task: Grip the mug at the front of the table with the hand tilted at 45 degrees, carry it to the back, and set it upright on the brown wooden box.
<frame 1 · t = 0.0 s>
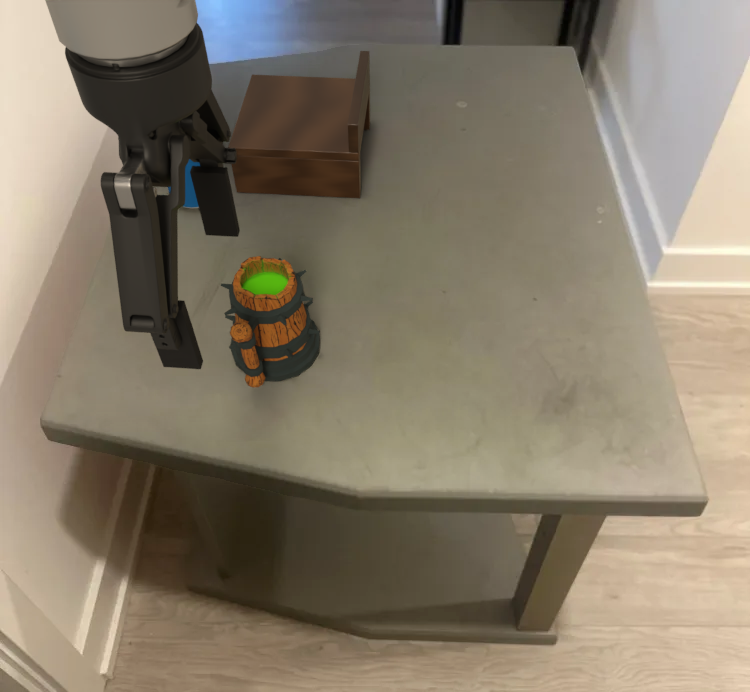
hand: (204, 294, 57), 20 cm above the table, tool pointing down, fingers open, 13 cm apart
brown wooden box: (306, 156, 100), on the table
mug: (272, 357, 79), on the table
beverage can: (197, 196, 95), on the table
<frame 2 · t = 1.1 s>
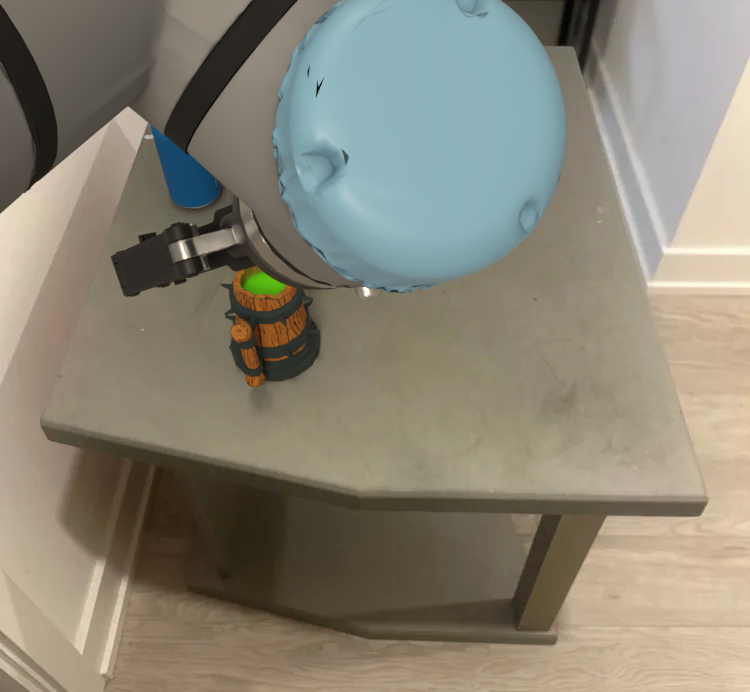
hand: (268, 238, 53), 26 cm above the table, tool tilted 45°, fingers open, 13 cm apart
nothing on the table moved.
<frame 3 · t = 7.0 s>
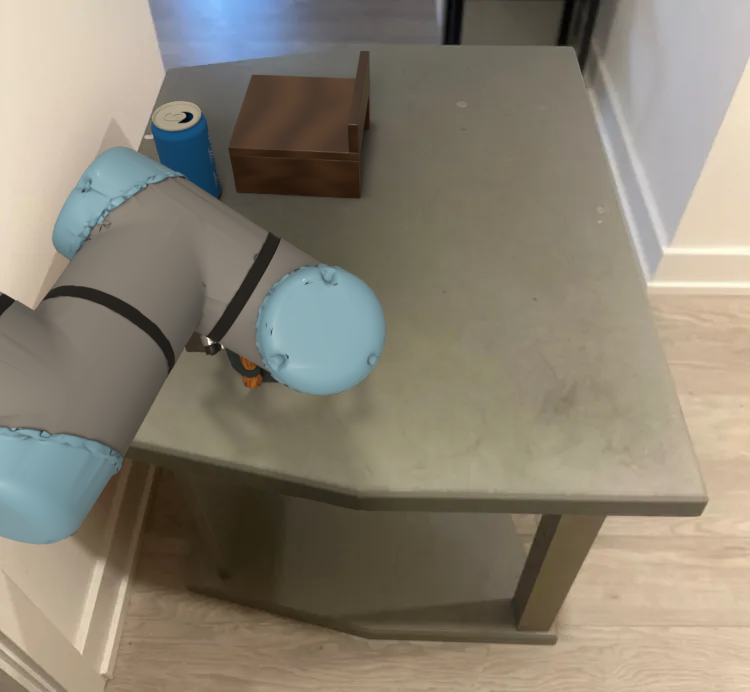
hand: (262, 310, 78), 4 cm above the table, tool tilted 45°, fingers closed on mug, 10 cm apart
mug: (268, 358, 79), on the table, touching gripper
everything else where it was.
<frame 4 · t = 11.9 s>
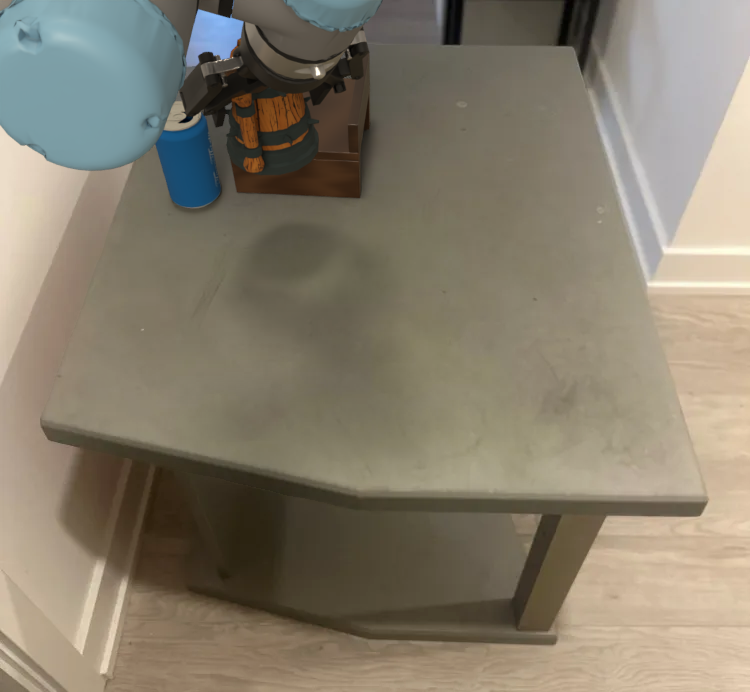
hand: (264, 102, 75), 19 cm above the table, tool tilted 45°, fingers closed on mug, 10 cm apart
mug: (270, 156, 77), point 15 cm above the table, touching gripper
everything else where it was.
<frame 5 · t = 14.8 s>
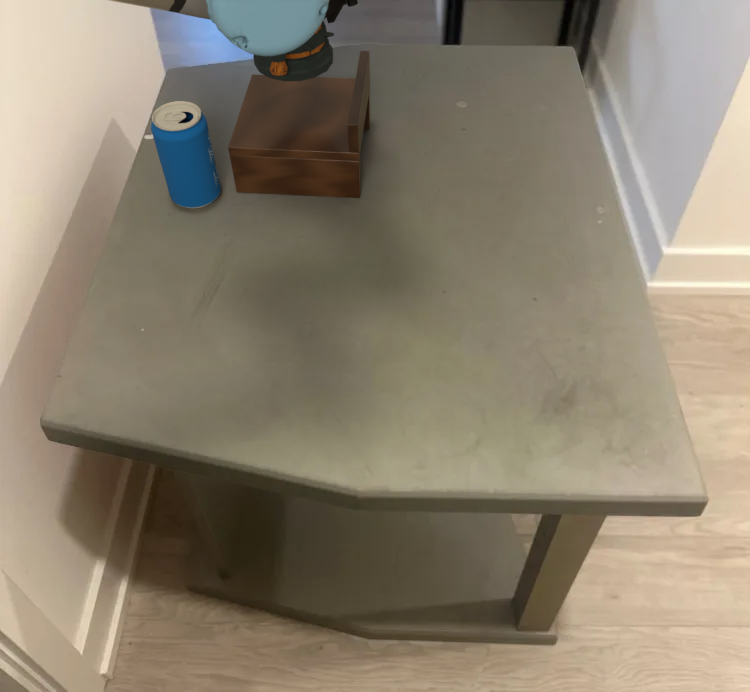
hand: (286, 19, 87), 18 cm above the table, tool tilted 45°, fingers closed on mug, 10 cm apart
mug: (291, 67, 89), point 14 cm above the table, touching gripper
everything else where it was.
when the fingers open (11 cm above the table, at t = 17.2 s): mug stays where it is, resting on brown wooden box.
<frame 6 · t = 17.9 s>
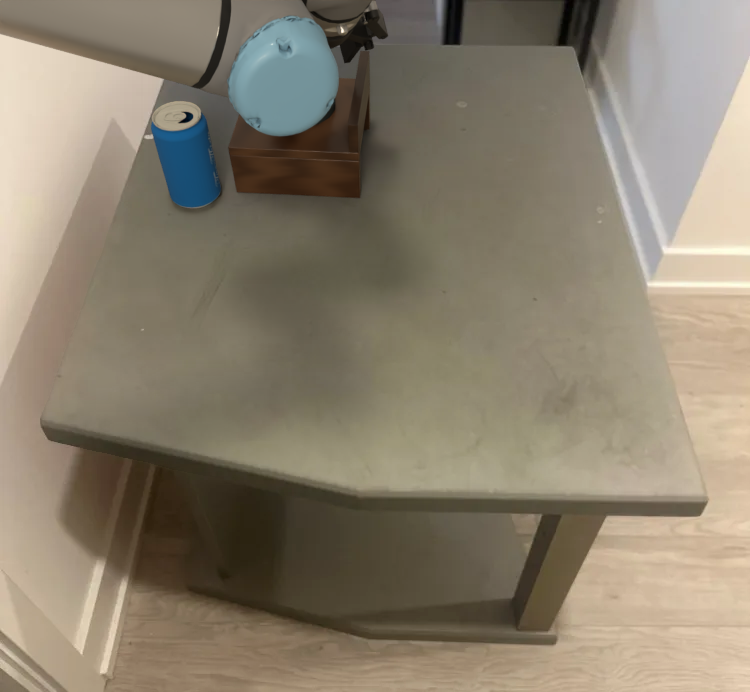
hand: (292, 63, 91), 12 cm above the table, tool tilted 45°, fingers open, 13 cm apart
mug: (296, 113, 94), point 7 cm above the table, touching brown wooden box
everything else where it was.
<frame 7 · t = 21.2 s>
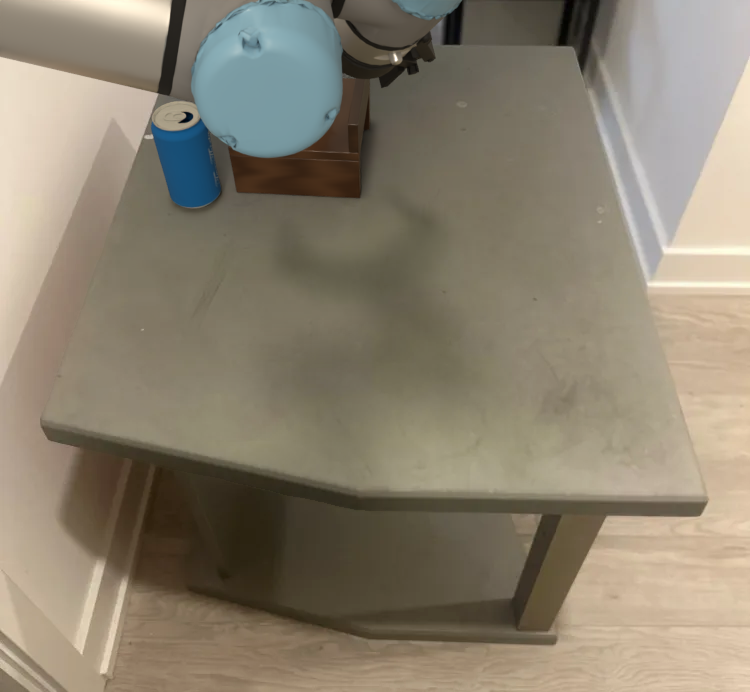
hand: (322, 88, 80), 17 cm above the table, tool tilted 45°, fingers open, 13 cm apart
nothing on the table moved.
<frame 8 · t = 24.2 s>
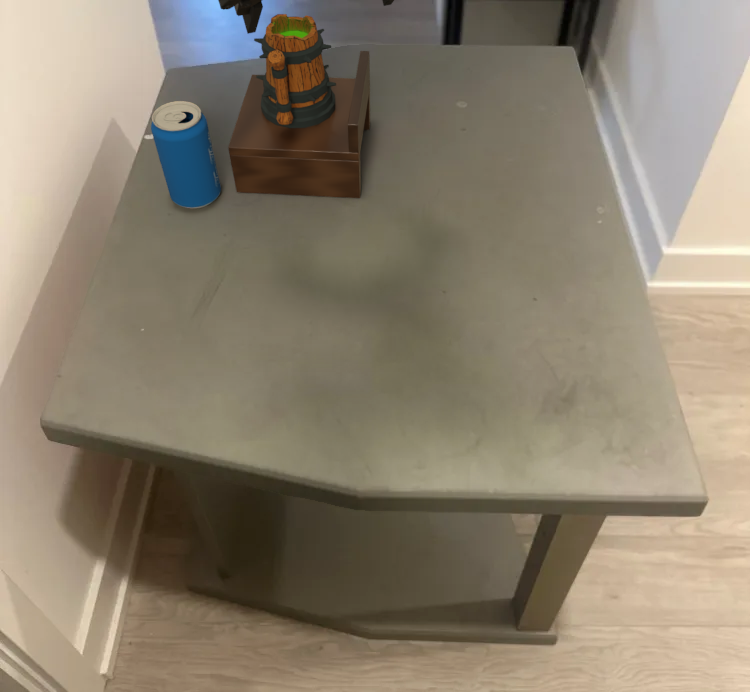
hand: (316, 4, 70), 28 cm above the table, tool tilted 45°, fingers open, 13 cm apart
nothing on the table moved.
at the end: mug inside the target area on the brown wooden box (0.9 cm from its centre), point 6.8 cm above the brown wooden box's base; mug tilted 0°; the gripper is holding nothing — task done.
